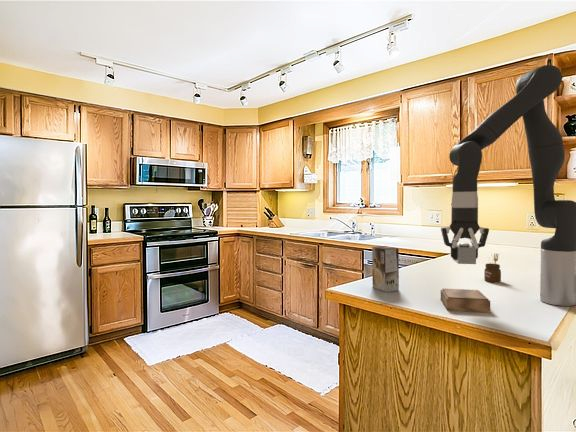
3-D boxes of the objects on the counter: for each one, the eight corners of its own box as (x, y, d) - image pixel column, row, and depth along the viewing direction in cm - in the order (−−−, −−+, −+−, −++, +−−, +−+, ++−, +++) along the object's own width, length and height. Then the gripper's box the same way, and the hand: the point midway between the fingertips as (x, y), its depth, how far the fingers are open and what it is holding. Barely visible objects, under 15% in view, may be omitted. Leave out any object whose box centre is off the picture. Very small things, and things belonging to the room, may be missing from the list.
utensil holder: (496, 279, 149) (496, 251, 149) (504, 283, 143) (504, 253, 142) (481, 279, 150) (481, 251, 149) (488, 283, 143) (488, 253, 143)
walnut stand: (479, 301, 118) (479, 289, 117) (490, 312, 106) (490, 299, 106) (440, 299, 121) (440, 288, 120) (446, 310, 109) (447, 297, 109)
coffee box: (399, 290, 134) (399, 248, 133) (385, 292, 131) (385, 249, 131) (385, 285, 142) (384, 245, 142) (371, 287, 140) (371, 246, 139)
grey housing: (475, 264, 108) (476, 245, 108) (458, 263, 109) (458, 245, 109) (469, 260, 116) (469, 242, 116) (452, 259, 117) (453, 242, 117)
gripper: (442, 206, 110) (441, 261, 111) (493, 206, 107) (492, 262, 107) (438, 206, 117) (438, 257, 118) (486, 206, 114) (485, 258, 114)
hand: (464, 259), depth 113 cm, fingers closed on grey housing, 5 cm apart
